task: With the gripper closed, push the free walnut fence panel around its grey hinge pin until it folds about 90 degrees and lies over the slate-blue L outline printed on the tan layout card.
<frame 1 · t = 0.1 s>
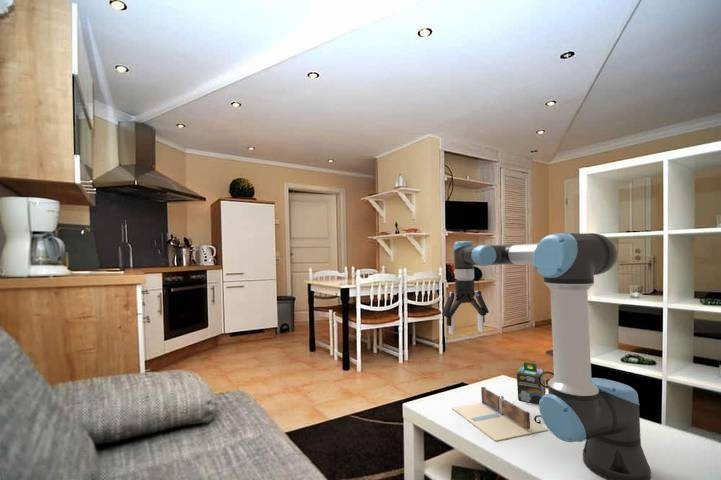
hand: (466, 332, 140), 28 cm above the table, fingers open, 13 cm apart
layout card: (496, 418, 126), on the table
hinged panel: (515, 413, 121), point 4 cm above the table, hinge at 0.0°
fixed panel: (491, 408, 134), resting on layout card
hinge post: (502, 415, 128), resting on layout card
chalk box: (531, 399, 142), on the table
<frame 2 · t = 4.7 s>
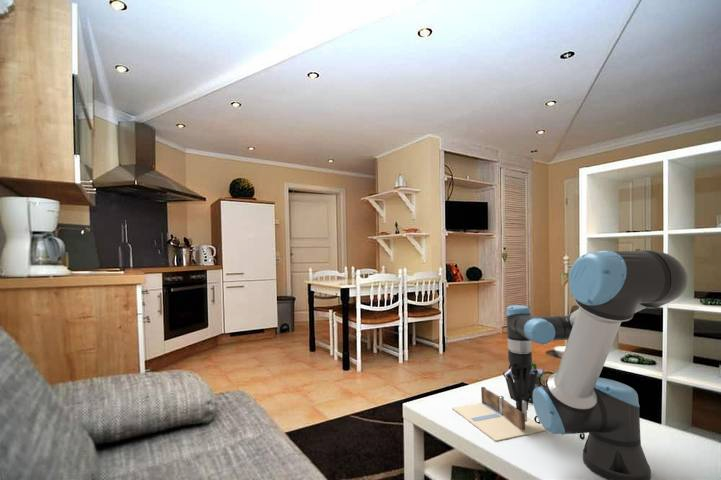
hand: (522, 420, 120), 2 cm above the table, fingers closed
hinged panel: (513, 413, 121), point 4 cm above the table, hinge at 8.6°, touching gripper
everything else where it was.
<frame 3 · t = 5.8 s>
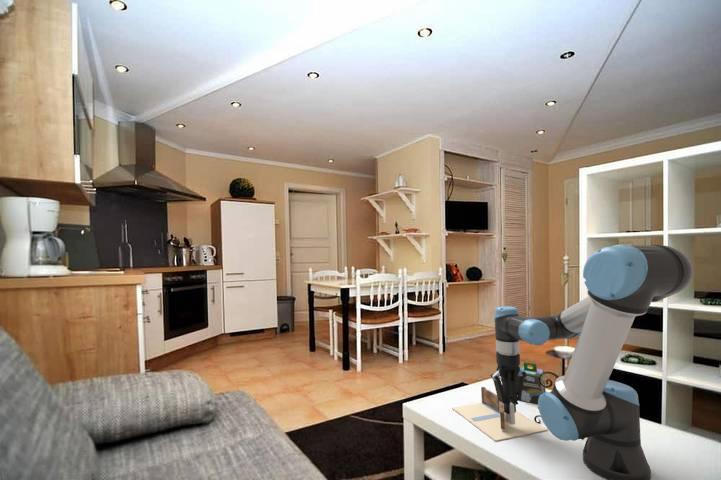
hand: (510, 422, 119), 2 cm above the table, fingers closed
hinged panel: (502, 413, 122), point 4 cm above the table, hinge at 38.2°, touching gripper
everything else where it was.
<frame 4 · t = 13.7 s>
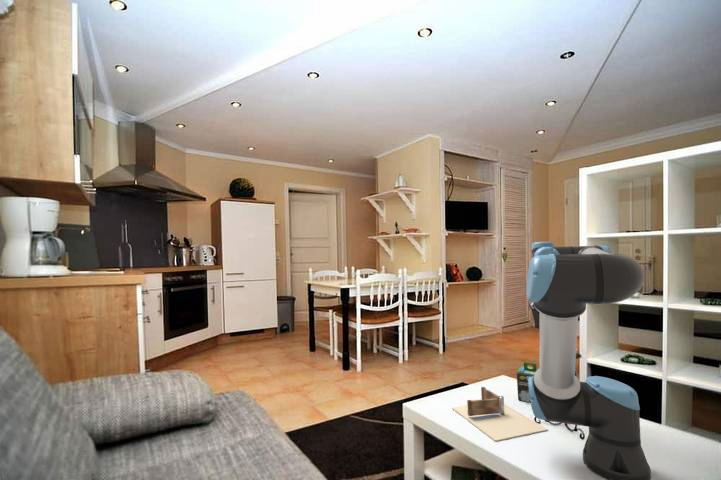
hand: (547, 348, 128), 24 cm above the table, fingers closed
hinged panel: (483, 406, 127), point 4 cm above the table, hinge at 98.7°
everything else where it was.
at the end: hinged panel at +99° (first picture: +0°); hinged panel touching nothing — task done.
